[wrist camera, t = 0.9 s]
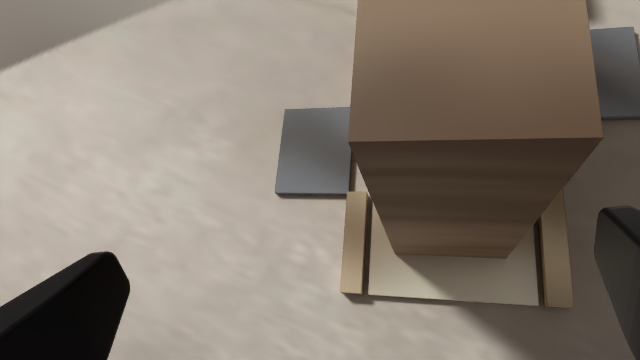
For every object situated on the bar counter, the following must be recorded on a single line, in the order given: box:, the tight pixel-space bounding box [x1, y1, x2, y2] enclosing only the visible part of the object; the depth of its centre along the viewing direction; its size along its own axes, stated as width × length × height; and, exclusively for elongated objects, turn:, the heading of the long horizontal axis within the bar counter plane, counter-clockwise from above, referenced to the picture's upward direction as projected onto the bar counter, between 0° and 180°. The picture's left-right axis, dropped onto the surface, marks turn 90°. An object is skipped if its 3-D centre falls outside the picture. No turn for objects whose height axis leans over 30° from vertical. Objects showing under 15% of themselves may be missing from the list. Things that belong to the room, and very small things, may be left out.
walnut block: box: [348, 0, 603, 259], centre depth 17 cm, size 13×5×13 cm, turn 175°
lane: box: [275, 27, 640, 308], centre depth 23 cm, size 21×18×3 cm
